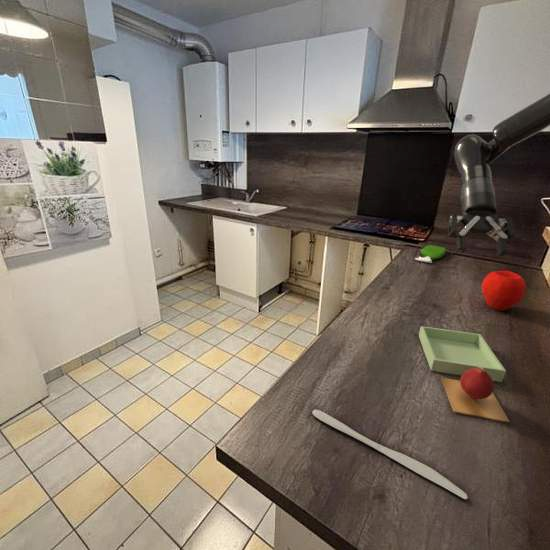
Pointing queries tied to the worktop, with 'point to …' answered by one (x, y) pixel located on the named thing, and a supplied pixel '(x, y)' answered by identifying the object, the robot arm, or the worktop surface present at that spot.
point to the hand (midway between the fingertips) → (482, 252)
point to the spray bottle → (431, 253)
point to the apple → (503, 289)
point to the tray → (459, 352)
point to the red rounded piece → (477, 383)
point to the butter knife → (393, 455)
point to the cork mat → (472, 402)
